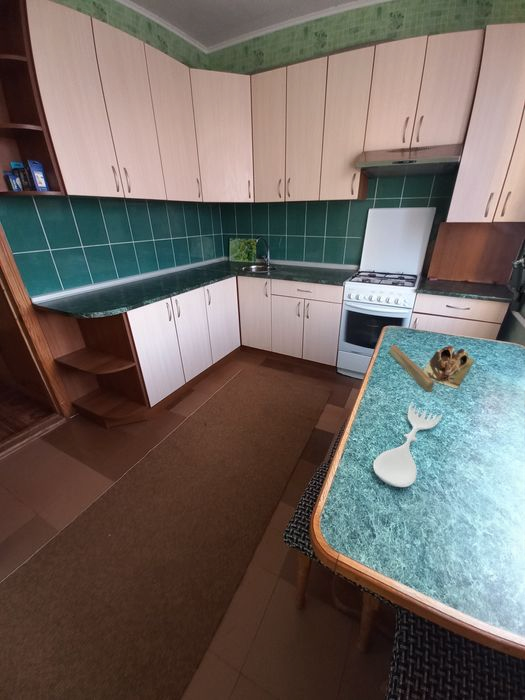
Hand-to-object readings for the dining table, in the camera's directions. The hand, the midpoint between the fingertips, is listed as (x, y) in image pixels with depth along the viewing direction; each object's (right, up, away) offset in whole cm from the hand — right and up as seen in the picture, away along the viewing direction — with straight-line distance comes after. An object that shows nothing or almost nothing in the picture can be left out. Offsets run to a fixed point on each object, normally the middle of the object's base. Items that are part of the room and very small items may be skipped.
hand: (515, 310), depth 100 cm
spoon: (-50, -39, -25) cm, 68 cm away
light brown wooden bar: (-33, -21, +9) cm, 40 cm away
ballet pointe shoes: (-17, -21, +10) cm, 28 cm away
